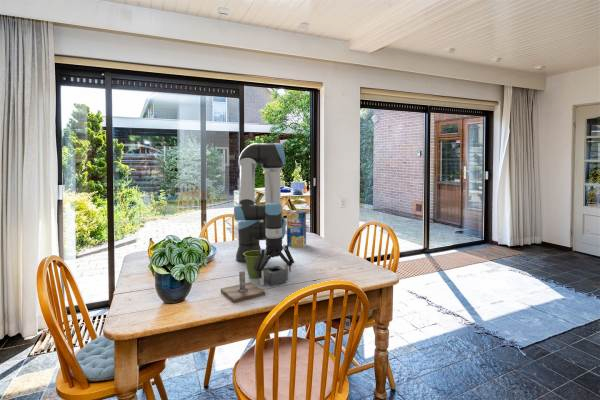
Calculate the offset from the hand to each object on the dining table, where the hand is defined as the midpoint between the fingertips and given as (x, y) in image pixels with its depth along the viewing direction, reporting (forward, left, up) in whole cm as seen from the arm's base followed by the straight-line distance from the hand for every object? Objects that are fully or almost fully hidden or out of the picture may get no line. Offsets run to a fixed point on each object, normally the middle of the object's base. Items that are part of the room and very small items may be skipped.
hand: (274, 281), depth 166 cm
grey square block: (0, 0, 0) cm, 0 cm away
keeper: (+4, -18, 0) cm, 18 cm away
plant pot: (-13, -3, 0) cm, 13 cm away
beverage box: (-50, +45, 0) cm, 67 cm away
